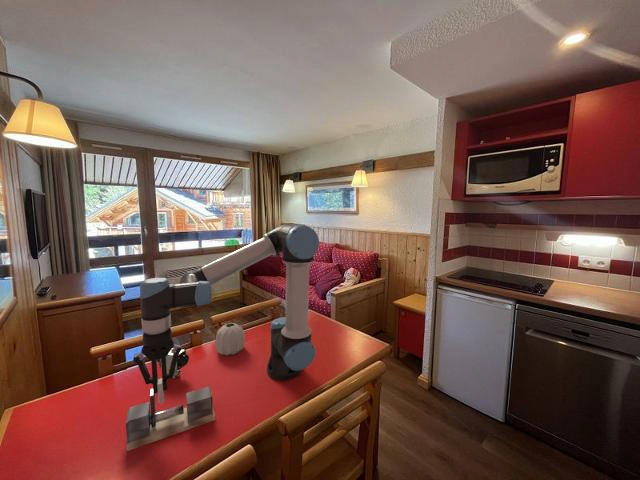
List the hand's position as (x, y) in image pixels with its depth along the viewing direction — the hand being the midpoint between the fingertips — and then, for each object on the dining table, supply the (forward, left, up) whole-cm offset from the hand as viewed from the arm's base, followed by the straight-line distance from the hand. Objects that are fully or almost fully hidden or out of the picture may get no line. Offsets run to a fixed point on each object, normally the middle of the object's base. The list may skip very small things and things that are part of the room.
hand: (161, 400), depth 84 cm
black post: (+1, +1, -8) cm, 8 cm away
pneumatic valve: (+15, -24, -10) cm, 30 cm away
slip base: (-2, -2, -10) cm, 10 cm away
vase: (+2, -47, -10) cm, 48 cm away
